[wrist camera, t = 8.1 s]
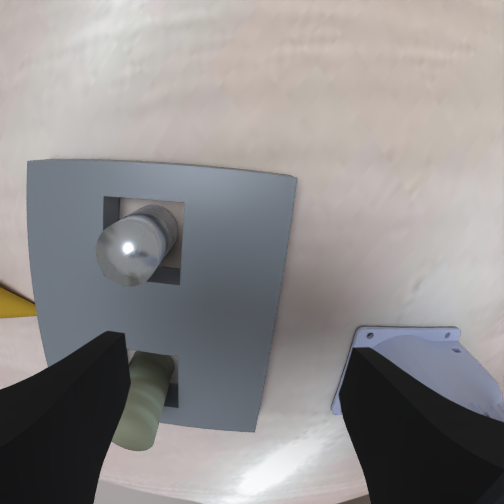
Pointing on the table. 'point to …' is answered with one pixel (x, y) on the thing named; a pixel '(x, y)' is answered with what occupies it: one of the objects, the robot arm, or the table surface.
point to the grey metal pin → (136, 245)
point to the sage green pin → (144, 400)
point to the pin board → (167, 276)
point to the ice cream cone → (15, 305)
